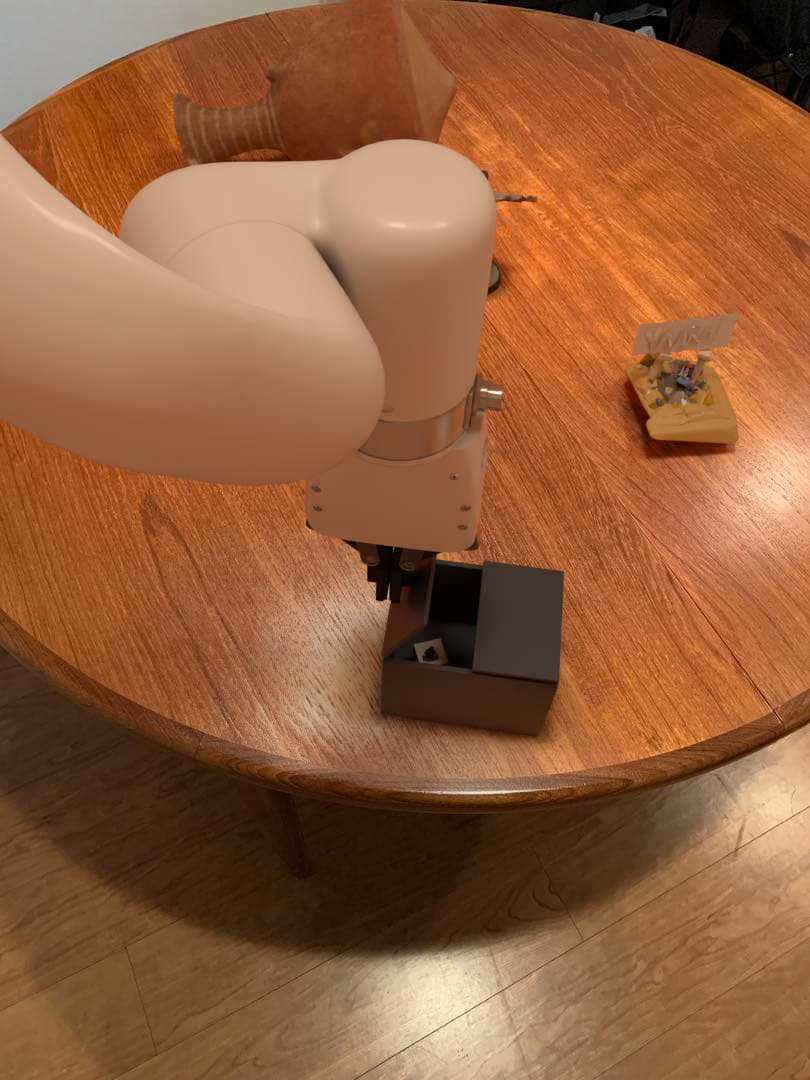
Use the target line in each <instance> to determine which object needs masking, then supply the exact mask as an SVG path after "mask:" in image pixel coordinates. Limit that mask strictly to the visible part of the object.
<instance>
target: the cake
mask: <svg viewBox="0 0 810 1080" xmlns="http://www.w3.org/2000/svg"><path fill="white" fill-rule="evenodd" d="M739 314H740V312H732V313H728V314H721V315H708V316H701V317H690V318H685V319H679V320H670V321H662V322H653V323H638V326H637V330H636V334H635V339H634V343H633V347H632V351H631V356H632V357H635V356H640V355H644V356H643V357H642V358H641V359H639V360H637V361H634V362H632V363H630V364H629V365H628V366H627V367H626V368H625V369H624V374H626V375H627V376H628V379H629V380H630V382H631V384H632V388H633V389H634V391H635V393H636V395H637V397H638V400H639V401H640V403H641V405H639V406H638V407H639V408H640V407H641V406H642V407H643V409H644V410H645V412H646V413H647V416H648V417H649V418H648V419H647V420H646V422H645V427H646V430H647V432H648V435H649V437H650V438H651V439H653V440H657V441H675V442H693V443H707V444H708V443H711V444H728V445H729V444H730V445H731V444H736V443H737V442H738V441H739V438H740V437H739V429H738V428H739V427H738V422H737V417H736V413H735V410H734V408H733V405H732V403H731V401H730V398H729V396H728V394H727V391H726V389H725V387H724V384H723V382H722V380H721V377H720V376H719V374H718V373H717V372H716V370H714V369H713V368H712V367H711V366H709V365H707V364H706V362H709V363H710V362H712V361H711V356H712V355H713V352H714V350H712V349H718V348H726V347H729V345H730V343H731V339H732V336H733V333H734V329H735V326H736V324H737V320H738V317H739ZM687 351H697V353H696V358H697V360H689V359H685V358H680V357H679V358H674V356H673V354H672V353H682V352H687ZM508 442H509V439H505V440H504V443H508Z"/></svg>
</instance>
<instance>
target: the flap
mask: <svg viewBox="0 0 810 1080" xmlns="http://www.w3.org/2000/svg"><path fill="white" fill-rule="evenodd" d="M437 557H438V554H437V555H435V556H432V557H430V558H427V559H425V560H422V561H420V563H419V566H418V568H417V569H416V570H415V571H414V579H413V585H412V587H404V586H402V591H401V597H400V603H399V604H396V603H392V601H389V607H388V615H387V619H386V625H385V630H384V631H385V632H384V637H383V644H382V649H381V654H380V656H381V657H382V658H383V657H384V658H385V657H386V656H388V655H389V654H390V653H392V652H393V651H394V650H395V649H397V648H398V647H399V646H400V645H402V644H403V643H404V642H406V641H407V640H408V639H409V638H411V637H412V636H413V635H415V634H416V633H417V632H418V631H420V630H421V629H422V628H423V627H425V626H426V625H427V621H428V614H429V607H430V600H431V593H432V586H433V579H434V572H435V565H436V559H438V558H437Z"/></svg>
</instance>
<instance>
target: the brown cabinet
mask: <svg viewBox="0 0 810 1080" xmlns="http://www.w3.org/2000/svg"><path fill="white" fill-rule="evenodd" d="M564 581H565V571H564V570H558V569H551V568H543V567H536V566H529V565H528V566H527V565H520V564H513V563H506V562H499V561H491V560H483V563H482V564H476V563H469V562H460V561H454V560H452V561H451V560H447V559H440V558H439V559H438V558H436V565H435V572H434V579H433V586H432V593H431V600H430V607H429V614H428V621H427V625H426V626H425V627H423V628H422V629H421V630H420V631H418V632H417V633H416V634H415V635H413V636H412V637H411V638H409V639H408V640H407V641H406V642H404V643H403V644H402V645H400V646H399V647H398V648H397V649H395V650H394V651H393V652H392V653H390V654H389V655H388V656H386V657H385V658H384V657H382V661H381V662H382V663H381V686H380V687H381V688H380V689H381V692H380V714H381V715H385V716H393V717H400V718H407V719H412V720H413V719H414V720H422V721H428V722H434V723H435V722H436V723H442V724H448V725H449V724H450V725H456V726H463V727H471V728H477V729H483V730H492V731H497V732H504V733H505V732H506V733H512V734H519V735H520V734H521V735H525V736H526V735H527V736H532V737H540V735H541V732H542V729H543V727H544V725H545V722H546V719H547V716H548V714H549V711H550V709H551V706H552V704H553V701H554V699H555V695H556V693H557V691H558V689H559V682H560V670H561V651H562V650H561V647H562V626H563V603H564ZM438 638H441V641H442V644H443V647H444V650H445V653H446V656H447V658H448V661H449V665H448V666H443V665H436V664H429V663H422V662H415V661H413V659H412V656H413V647H414V644H418V643H422V642H427V641H430V640H434V639H438Z"/></svg>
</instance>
